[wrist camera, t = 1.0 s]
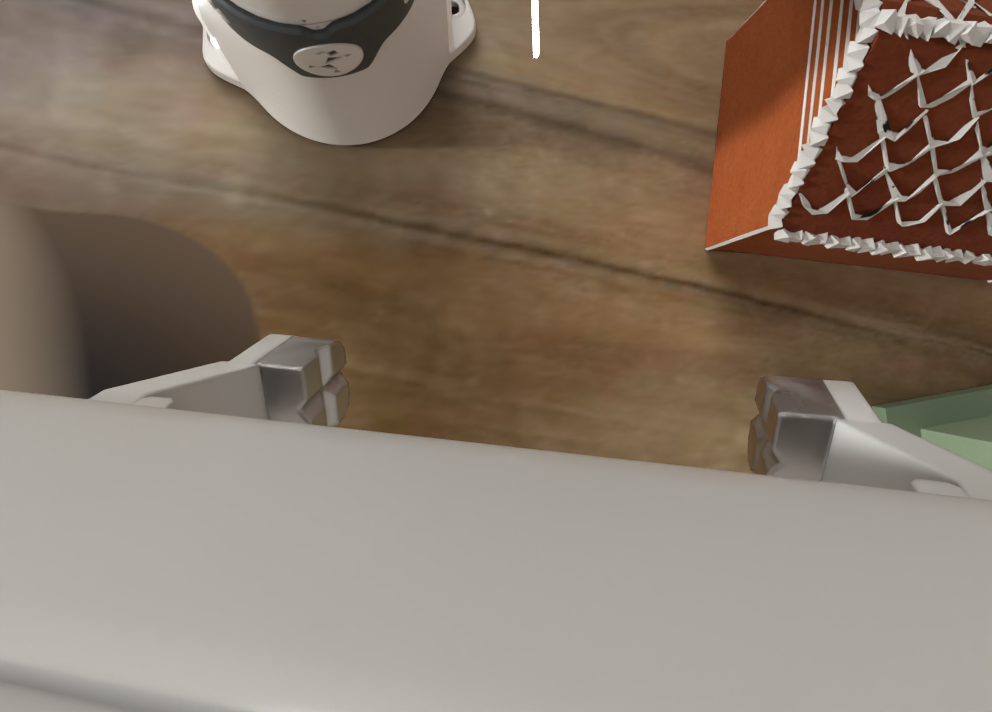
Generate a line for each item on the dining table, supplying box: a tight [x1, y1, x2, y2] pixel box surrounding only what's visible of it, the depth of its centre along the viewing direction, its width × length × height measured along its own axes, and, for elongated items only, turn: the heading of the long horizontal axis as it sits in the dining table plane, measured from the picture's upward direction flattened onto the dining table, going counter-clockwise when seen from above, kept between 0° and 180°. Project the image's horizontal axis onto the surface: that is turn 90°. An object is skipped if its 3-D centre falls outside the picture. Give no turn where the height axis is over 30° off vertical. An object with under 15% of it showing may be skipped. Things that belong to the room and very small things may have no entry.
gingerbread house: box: [705, 0, 992, 283], centre depth 38 cm, size 18×26×20 cm
